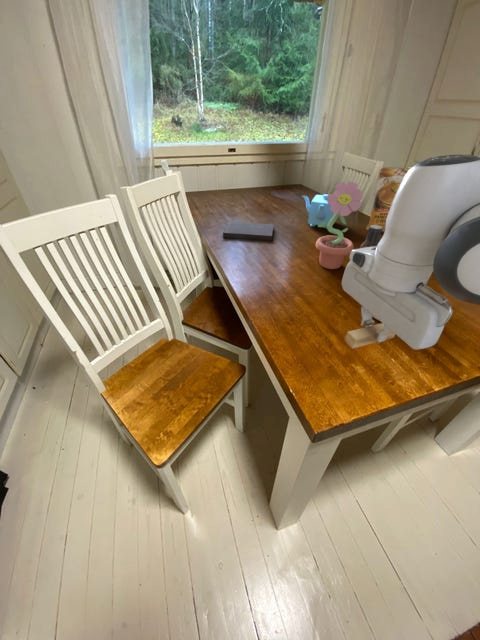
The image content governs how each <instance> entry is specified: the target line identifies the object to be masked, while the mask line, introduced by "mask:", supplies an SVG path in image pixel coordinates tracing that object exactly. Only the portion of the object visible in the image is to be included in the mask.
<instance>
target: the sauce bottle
mask: <svg viewBox="0 0 480 640" xmlns="http://www.w3.org/2000/svg"><path fill="white" fill-rule="evenodd" d="M382 229H383V228H382V227H381V226H377V225H371V226H369V229H368V230H367V236H366V237H365V240H364V242H362V244H360V246H359V249H360V248H365V247H373V246H377V245H378V243H379V241H380V237H381V234H382V233H383V232H382Z"/></svg>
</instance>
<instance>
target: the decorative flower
mask: <svg viewBox="0 0 480 640" xmlns="http://www.w3.org/2000/svg"><path fill="white" fill-rule="evenodd" d="M362 199H363V192H362V190H361V189H359V188H358V183H356V182H354V181H348V182H347V183H346V182H345V181H342V182H339V183H337V184H336V186H335V190H334V192H333V193H329V194H328V197H327V202H328V204H331V208H330V210H331V211H332V212H333V213H334V216H333V217H332V219H331V220H330V221H329V223H325V222H324V223H321V224H319V225H317V228H324V227H325V226H327V225H328V226H327V228H326V230H327V231H328V232H329V233H331V234H334V235H330V234H329V235H324V236H321V237H319V238H318V239H317V240H316V241H315V247H316V249H317V250H318V251H319V259H318V263H319V265H320V267H322V268H325V269H328V270H337V269H339V268H340V267H341V266H342V265H343V262H344V260H345V258H346V257H345V256H347V255H350V253H351V251H352V250H354V248H355V247H354V243H353V242H352V240H350V239H348V238H346V237H344V233H345V232H347V231H349V228H348V227H346V228H344V229H342V230H341V229H337V228H334V227H333V225H334V224H335V222H336V221H337V219H338V218H339V220H340V222H341V223H342V224H343V225H347V221H346V218H345V217H347V216H349V215H350V214H352V213H353V212H356V211H358V210H359V209H360V207H361V206H362V203H361V201H362Z"/></svg>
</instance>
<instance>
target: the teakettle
mask: <svg viewBox="0 0 480 640" xmlns="http://www.w3.org/2000/svg"><path fill="white" fill-rule="evenodd" d="M328 195H329V194H328V193H327V194H326V193H324V194H315V195H314V197H313V198H312V199H311V201H310V199H309V197H308V196H307V195H301V197H302V198H303V199H304V202H305V207H306V211H307V212H308V217H307V218H308V219H307V224H309V226H310V227H316V226H318V225H319V224H321V223H324V222H325V223H329V221H330V220H331V219H332V217H333V216H334V213H333V212H332V211H331V210H330V208H331V204H328V202H327V197H328ZM327 226H328V225H327ZM327 226H325V227H323V228H324V229H327Z"/></svg>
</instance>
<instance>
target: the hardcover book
mask: <svg viewBox="0 0 480 640" xmlns="http://www.w3.org/2000/svg"><path fill="white" fill-rule="evenodd" d="M274 227H275V224H274V223H259V222H245V221H244V222H243V221H228V222H227V225H226V227H225V229H224V230H223V232H222V237H223V238H229V239H230V238H231V239H245V240H258V241H273V234H274Z"/></svg>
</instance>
